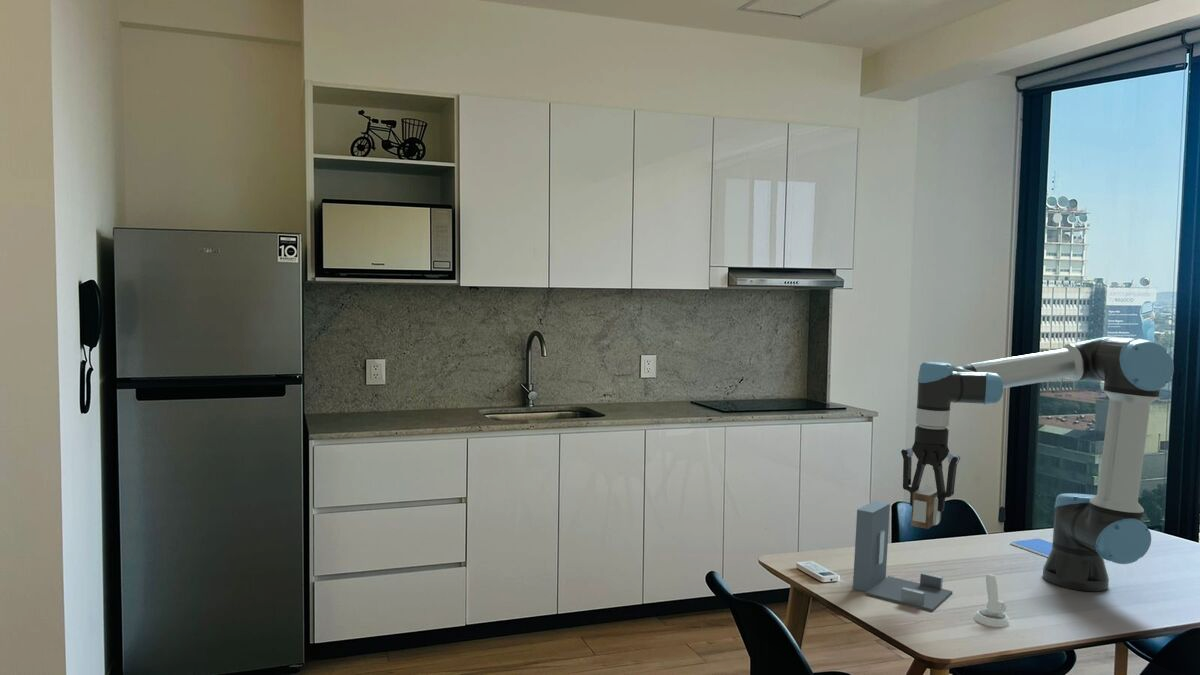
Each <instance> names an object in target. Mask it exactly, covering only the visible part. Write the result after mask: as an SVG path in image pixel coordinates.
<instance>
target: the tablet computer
mask: <svg viewBox="0 0 1200 675" xmlns="http://www.w3.org/2000/svg"><path fill="white" fill-rule="evenodd" d="M1009 544H1010V545H1011V546H1014V547H1016V548H1020V549H1022V550H1025V551H1027V552H1030V553H1034V554H1037V555H1040V556H1041V557H1044V558H1047V559H1048V556H1049V554H1050V552H1051V550H1052V544H1053V542H1052V541H1051V542H1049V541H1048V540H1044V539H1041V538H1031V539H1024V540H1023V539H1022V540H1016V541H1010V542H1009Z"/></svg>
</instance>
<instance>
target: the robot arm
mask: <svg viewBox="0 0 1200 675" xmlns="http://www.w3.org/2000/svg"><path fill="white" fill-rule="evenodd" d="M1173 360H1174V359H1173V358H1172V355H1171V354H1170V352H1169V351H1168V350H1167V349H1166V348H1165V347H1164V346H1163V345H1161V343H1159V342H1155V341H1152V340H1148V339H1144V338H1130V337H1120V336H1114V335H1113V336H1103V337H1097V338H1092V339H1088V340H1083V341H1079V342H1078V341H1077V342H1073V343H1067V344H1065V345H1064V346H1063V347H1062V348H1060V349H1053V350H1047V351H1040V352H1035V353H1028V354H1023V355H1017V356H1009V357H1003V358H998V359H990V360H984V361H978V362H971V363H965V364H958V365H952V364H951V363H949V362H941V361H939V362H938V361H937V362H936V361H925V362H922V363H921V364H920V365H919V370H918V376H917V377H918V378H917V401H916V414H915V424H916V426H915V428H914V429H915V430H914V443H913V445H912V447H910V448H907V447H906V448H903V449H901V452H900V453H901V456H902V459H903V460H902V461H903V462H902V463H903V467H902V469H903V471H902V488H903V490H906V491H908V492H909V493H910V497H909V505H910V507H912V500H913V492H915V491H917V490H919V489H920V485H921V481H922V478H923V474H924V470H925V467H926V466H927V465H930V466H931V467H932V470H933V474H934V481H935V486H936V488H937V494H938V496H937V497H935V498H934V513H933V526H937V525H939V524H940V522H939V520H940V511H941V513H942V512H944V510H945V507H946V505H945V504H946V498H950V497H952V496H954V494H955V486H956V485H955V484H956V478H957V477H956V474H957V467H958V464H959V461H960V460H961V456H959V455H954V454H953V453H951V452H950V449H949V446H948V443H949V431H950V430H949V429H948V427H949V426H950V417H951V416H950V414H951V413H950V412H951V403H959V404H960V403H963V404H981V405H982V404H983V405H986V404H988V405H989V404H992V405H993V404H997V403H999V402H1000V401H1001V399H1002V397H1003V394H1004V389H1006V388H1013V387H1019V386H1026V385H1033V384H1038V383H1045V382H1051V381H1058V380H1063V379H1064V380H1065V379H1069V380H1070V381H1072V382H1078V381H1084V380H1085V381H1088V380H1090V381H1099V382H1100V381H1101V382H1103V390H1102V392H1103V393H1104V395H1106V396H1107V397H1108V399H1109V400H1108V401H1109V402H1108V406H1107V407H1108V408H1107V416H1106V423H1105V431H1104V440H1103V447H1102V454H1101V463H1100V472H1099V479H1098V485H1097V486H1098V487H1097V494H1087V493H1086V494H1085V493H1075V492H1074V493H1069V492H1068V493H1060V494H1058V495H1057V496H1056V498H1055V503H1054V506H1053V508H1054V515H1053V528H1052V529H1053V534H1052V543H1053V544H1052V550H1051V552H1050V554H1049V556H1048V558H1047V559H1046V561H1045V563H1044V566H1043V569H1042V578H1043V579H1044V580H1045V581H1047V582H1049V583H1051V584H1053V585H1056V586H1060V587H1062V588H1065V589H1071V590H1076V591H1082V592H1083V591H1084V592H1102V591H1106V590H1107V589H1109V581H1110V578H1109V574H1108V571H1107V568H1106V563H1105V560H1106V561H1108V562H1112V563H1115V564H1117V565H1128V564H1132V563H1135V562H1137V561H1138V560H1140V559H1142V558H1143V557H1144V556H1145V555H1146V554H1147V553H1148V551H1149V549H1150V547H1151V544H1152V534H1151V533H1152V532H1151V531H1150V529H1149V528H1148V526H1147V524H1145V523H1144V522H1143V521H1144V514H1145V509H1144V508H1143V506H1142V505H1141V504H1140V503H1139V496H1140V489H1141V488H1140V487H1141V480H1142V472H1143V464H1144V458H1145V457H1144V456H1145V448H1146V440H1147V433H1148V432H1147V431H1148V425H1149V419H1150V418H1149V417H1150V411H1151V410H1150V409H1151V405H1152V403H1154V402H1155V401H1157V400H1158V399H1159V398H1160V391H1161V389H1163V388H1165V387H1166V384H1168V383H1170V381H1171V380H1172V378H1173V376H1174V370H1175V369H1174V368H1175V366H1174V365H1175V364H1174V361H1173ZM914 455H915V457H916V459H917V463H916V468H915V473H914V475H913V480H912V462H913V461H912V460H913V458H912V457H913V456H914ZM946 459H947V462H948V463H949V464H948V468H947V477H946V484H945V480H944V471H943V462H944V461H945V460H946ZM945 485H946V486H945Z"/></svg>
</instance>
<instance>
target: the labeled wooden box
mask: <svg viewBox="0 0 1200 675" xmlns="http://www.w3.org/2000/svg"><path fill="white" fill-rule="evenodd" d="M937 496H938V494H937V487H935V486H929V485H925V486H923V487H921V488H919V489H918V490H917V491H915V492H913V500H912V506H911V516H910V517H911V519H910V526H911V527H915V528H922V529H925V530H929V529H930V528H933V527H934V525H933V513H934V498H935V497H937ZM941 520H942V512H941V511H940V520H939V523H940V522H941Z"/></svg>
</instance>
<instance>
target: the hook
mask: <svg viewBox="0 0 1200 675" xmlns="http://www.w3.org/2000/svg"><path fill="white" fill-rule="evenodd" d="M985 584H986V592H987V600H988V601H987V604H986V608H980V609H977V611H976V612H975V614H974V615H973V617H972V618H973V620H974V621H976V622H977V623H978V624H981V625H984V626H989V627H994V628H1007V627H1009V626H1010V625H1011V622H1010V619H1009V616H1008V615H1007V614H1006V613H1005V612H1006V609H1007V605H1006V603H1005V601H1003V600H1000V598H999V597H1000V596H999V589H998V582H997V576H996V575H995V574H991V573H987V574H986V575H985ZM988 616H993V617H997V618H993V617H988Z"/></svg>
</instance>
